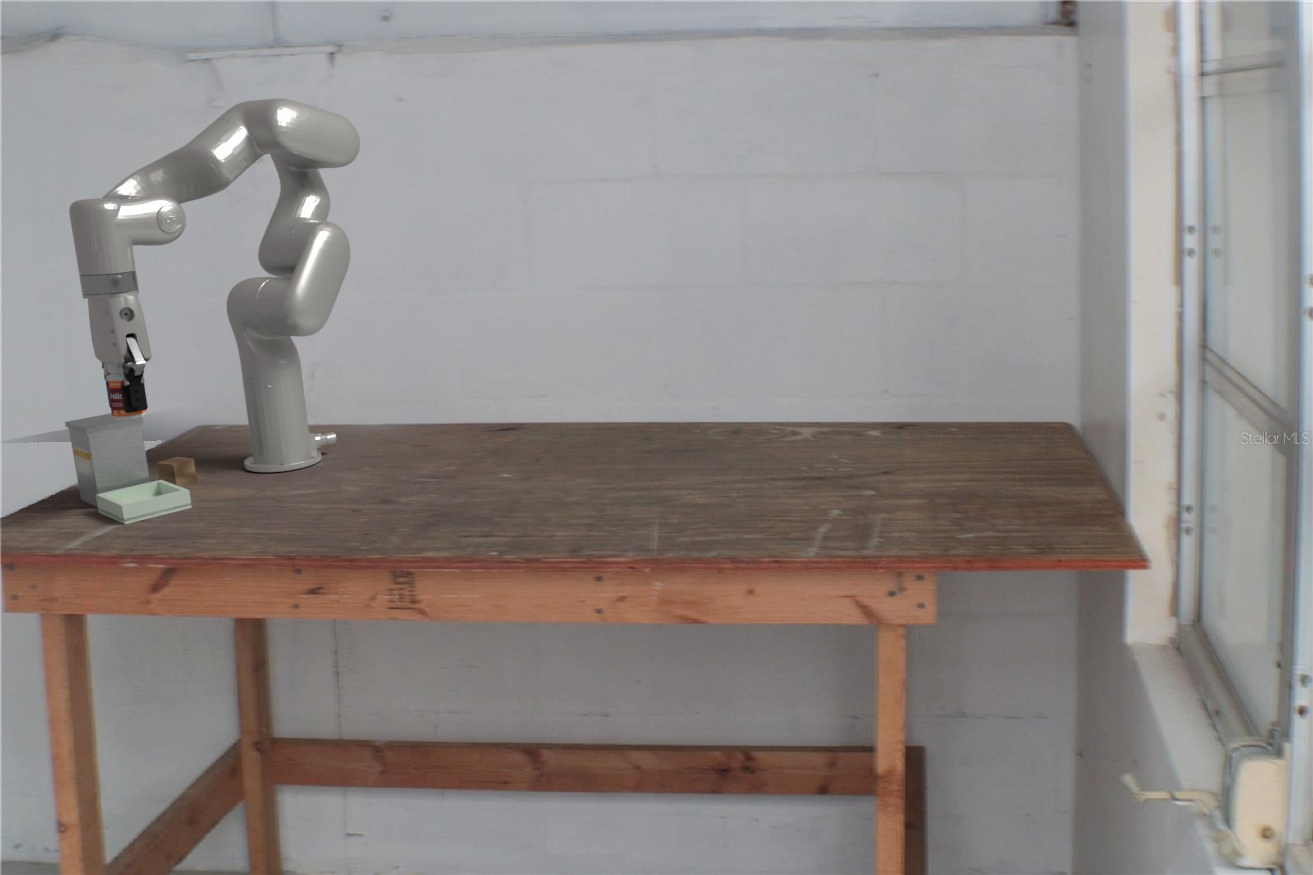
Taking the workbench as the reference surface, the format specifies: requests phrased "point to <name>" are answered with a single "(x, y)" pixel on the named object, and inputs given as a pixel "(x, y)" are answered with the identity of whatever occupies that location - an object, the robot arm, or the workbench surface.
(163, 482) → the tray
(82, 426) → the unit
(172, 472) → the walnut block
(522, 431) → the workbench surface
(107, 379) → the pill bottle
